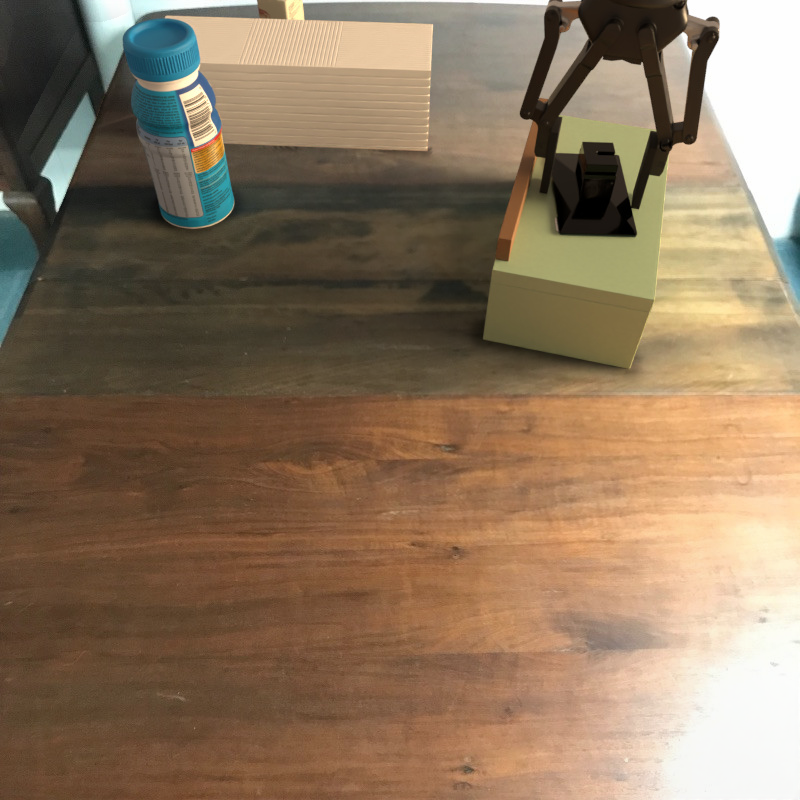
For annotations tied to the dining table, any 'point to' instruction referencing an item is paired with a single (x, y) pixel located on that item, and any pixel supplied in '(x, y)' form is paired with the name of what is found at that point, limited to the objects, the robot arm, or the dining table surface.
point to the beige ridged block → (318, 81)
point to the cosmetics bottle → (281, 9)
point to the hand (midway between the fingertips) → (590, 192)
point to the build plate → (592, 193)
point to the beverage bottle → (178, 123)
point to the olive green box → (576, 260)
